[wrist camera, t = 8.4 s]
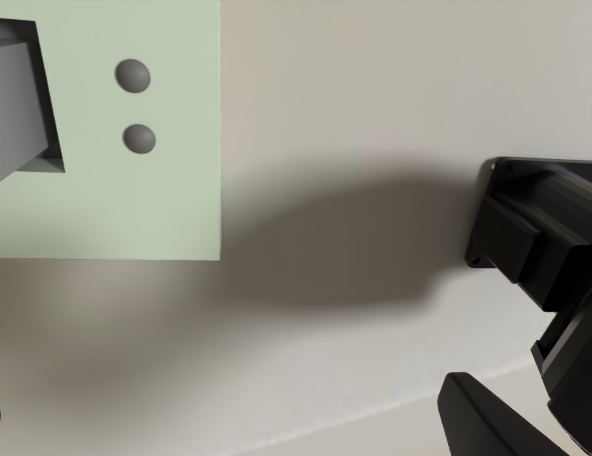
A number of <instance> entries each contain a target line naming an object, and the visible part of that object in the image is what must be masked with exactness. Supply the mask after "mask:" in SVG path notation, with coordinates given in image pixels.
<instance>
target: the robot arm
mask: <svg viewBox="0 0 592 456" xmlns="http://www.w3.org/2000/svg"><path fill="white" fill-rule="evenodd" d="M508 164H509V167H508V168H507V169H506V170H505V171H504V167H505V166H506V165H508ZM475 257H477V258H476V259H475V260H473V259H474V258H475ZM464 260H465V262H466V263H467V265H468V266H469V267H471V268H497V269H498V270H499V271H500V272H501V273H502V274H503V275H504V276H505V277H506V278H507V279H508V280H509V281H510V282H511V283H512V284H517V285H518V286H519V287H520V288H521V289H522V290H523V291H524V292H525V293H526V294H527V295H528V296H529V297H530V298H531V299H532V300H533V301H534V302H535V303H536V304H537V305H538V306H539V307H540V308H541V310H542V311H544V312H554V313H555V314H556V315H555V317H554V318H553V320H552V321H551V323H550V324H549V326H548V328H547V329H546V331H545V332H544V334H543V335H542V337H541V338H540V340H536V342H535V343H534V345H533V346H532V348H531V352H532V355H533V357H534V360H535V362H536V365H537V367H538V369H539V372H540V374H541V378H542V380H543V383H544V385H545V388H546V390H547V393H548V395H549V397H550V400H549V401H548V403H547V406H548V408H549V410H550V412H551V413H552V415H553V416H554V418H555V419H556V420H557V421H558V423H559V424H560V425H561V427H562V428H563V429H564V430H565V431H566V432H567V433H568V435H569V436H570V437H571V438H572V440H573V441H574V442H575V443H576V444H577V445H578V446H579V447H580V448H581V449H582V450H583V451H584V452H585V453H586V454H587V455H589V456H592V161H580V160H560V159H540V158H519V157H503V158H502V159H500V160H499V161H498V162H497V163H496V165H495V167H494V170H493V173H492V176H491V179H490V182H489V185H488V188H487V191H486V194H485V197H484V199H483V200H482V203H481V206H480V209H479V212H478V215H477V218H476V221H475V224H474V227H473V230H472V233H471V236H470V242H469V245H468V248H467V251H466V254H465V258H464ZM437 404H438V410H439V414H440V417H441V421H442V424H443V428H444V431H445V435H446V438H447V442H448V446H449V449H450V453H451V456H570V455H568V454H567V453H566V452H565V451H563V450H562V449H561V448H560V447H558V446H557V445H556V444H555V443H553V442H552V441H551V440H550V439H549V438H547V437H546V436H545V435H544V434H543V433H541V432H540V431H539V430H538V429H536V428H535V427H534V426H532V425H531V424H530V423H529V422H528V421H527V420H525V419H524V418H523V417H522V416H520V415H519V414H518V413H517V412H516V411H514V410H513V409H512V408H511V407H509V406H508V405H507V404H506V403H505V402H503V401H502V400H501V399H500V398H498V397H497V396H496V395H495V394H494V393H492V392H491V391H490V390H489V389H487V388H486V387H485V386H484V385H483V384H481V383H480V382H479V381H478V380H476V379H475V378H474V377H473V376H471V375H470V374H468V373H466V372H451V373H448V374H447V375H446V377H445V380H444V382H443V385H442V388H441V390H440V393H439V396H438V401H437ZM0 419H1V412H0Z"/></svg>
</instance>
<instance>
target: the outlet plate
mask: <svg viewBox="0 0 592 456" xmlns="http://www.w3.org/2000/svg"><path fill="white" fill-rule="evenodd" d="M0 38H9V39H21V40H33V41H37V45H38V50H39V55H40V60H41V65H42V70H43V75H44V80H45V85H46V90H47V95H48V100H49V106H50V111H51V116H52V121H53V126H54V131H55V136H56V142H55V143H53V144H52V145H51V146H49V147H48V148H47V149H45V150H44V151H42V152H41V153H40V154H38V155H37V156H35V157H34V158H33V159H31V160H30V161H28V162H27V163H26V164H24V165H23V166H21V167H20V168H19V169H17V170H16V171H14V172H13V173H12V174H10V175H9V176H7V177H6V178H5V179H3V180H2V181H1V182H0V258H42V259H133V260H220V251H221V241H222V200H221V0H0Z"/></svg>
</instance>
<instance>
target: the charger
mask: <svg viewBox="0 0 592 456" xmlns="http://www.w3.org/2000/svg"><path fill="white" fill-rule="evenodd" d="M55 142H56V136H55V131H54V126H53V121H52V116H51V111H50V106H49V100H48V95H47V90H46V85H45V80H44V75H43V70H42V65H41V60H40V55H39V50H38V45H37V41H33V40H21V39H9V38H0V182H1V181H2V180H3V179H5V178H6V177H7V176H9V175H10V174H12V173H13V172H14V171H16V170H17V169H19V168H20V167H21V166H23V165H24V164H26V163H27V162H28V161H30V160H31V159H33V158H34V157H35V156H37V155H38V154H40V153H41V152H42V151H44V150H45V149H47V148H48V147H49V146H51V145H52V144H53V143H55Z"/></svg>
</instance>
